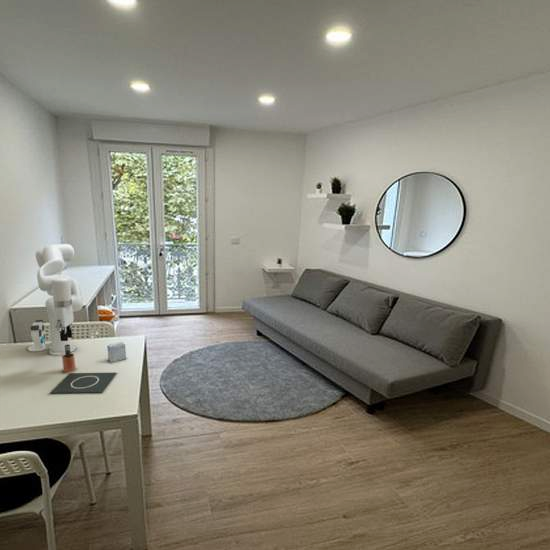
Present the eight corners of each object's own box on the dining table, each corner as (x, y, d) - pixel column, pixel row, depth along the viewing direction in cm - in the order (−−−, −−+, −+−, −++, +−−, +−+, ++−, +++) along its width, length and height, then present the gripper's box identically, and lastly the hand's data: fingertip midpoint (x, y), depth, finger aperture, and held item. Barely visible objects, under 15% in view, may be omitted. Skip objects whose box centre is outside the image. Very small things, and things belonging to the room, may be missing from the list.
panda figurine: (48, 350, 199) (45, 325, 196) (24, 352, 195) (21, 327, 192) (53, 342, 210) (50, 318, 207) (30, 344, 206) (27, 320, 203)
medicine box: (123, 356, 194) (122, 341, 193) (126, 358, 191) (125, 343, 190) (108, 360, 189) (107, 345, 187) (111, 363, 186) (110, 347, 184)
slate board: (50, 393, 156) (50, 392, 155) (69, 374, 173) (69, 373, 173) (101, 392, 158) (101, 391, 157) (116, 373, 175) (116, 372, 175)
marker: (66, 370, 176) (63, 346, 173) (68, 368, 178) (65, 344, 175) (70, 370, 176) (68, 346, 173) (73, 368, 178) (70, 344, 175)
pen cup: (61, 373, 174) (60, 358, 172) (66, 368, 179) (65, 353, 178) (72, 372, 175) (71, 357, 173) (77, 368, 180) (76, 353, 178)
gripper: (63, 298, 177) (66, 333, 181) (45, 308, 161) (49, 345, 165) (79, 298, 178) (82, 333, 182) (62, 308, 162) (66, 345, 166)
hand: (66, 338), depth 173 cm, fingers open, 3 cm apart
